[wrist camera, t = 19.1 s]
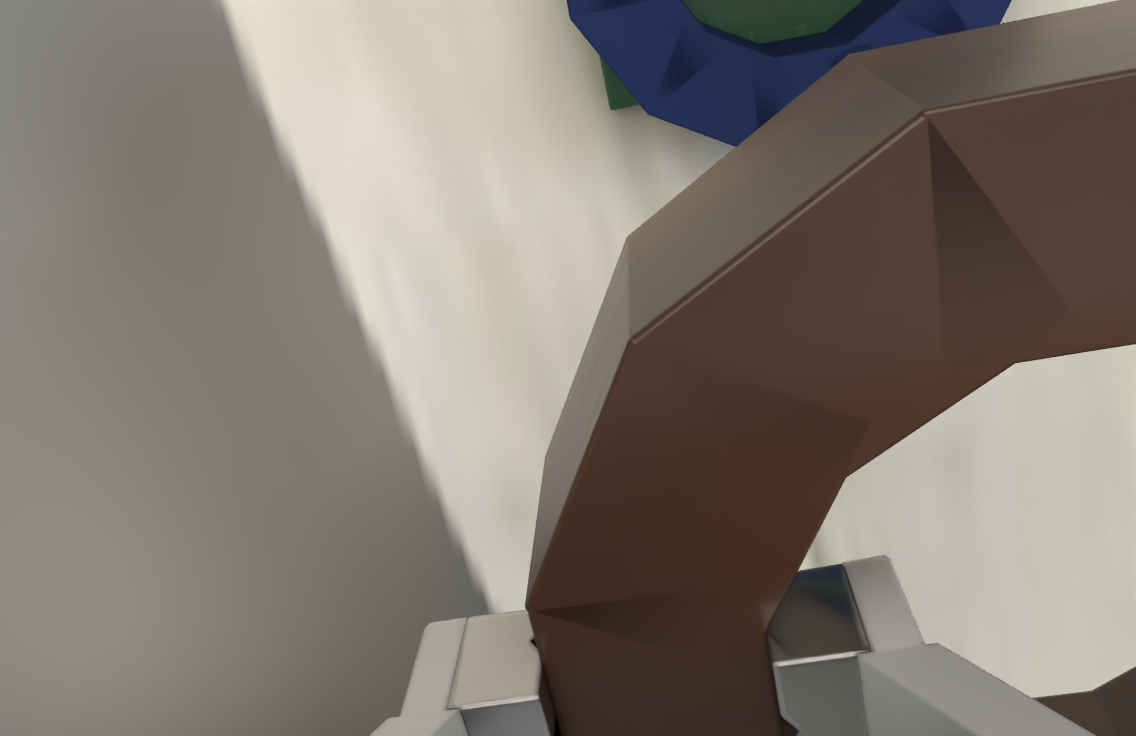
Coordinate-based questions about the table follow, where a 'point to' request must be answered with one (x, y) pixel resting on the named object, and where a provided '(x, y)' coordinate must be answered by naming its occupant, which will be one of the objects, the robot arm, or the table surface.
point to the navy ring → (748, 55)
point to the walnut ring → (823, 351)
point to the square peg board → (749, 27)
